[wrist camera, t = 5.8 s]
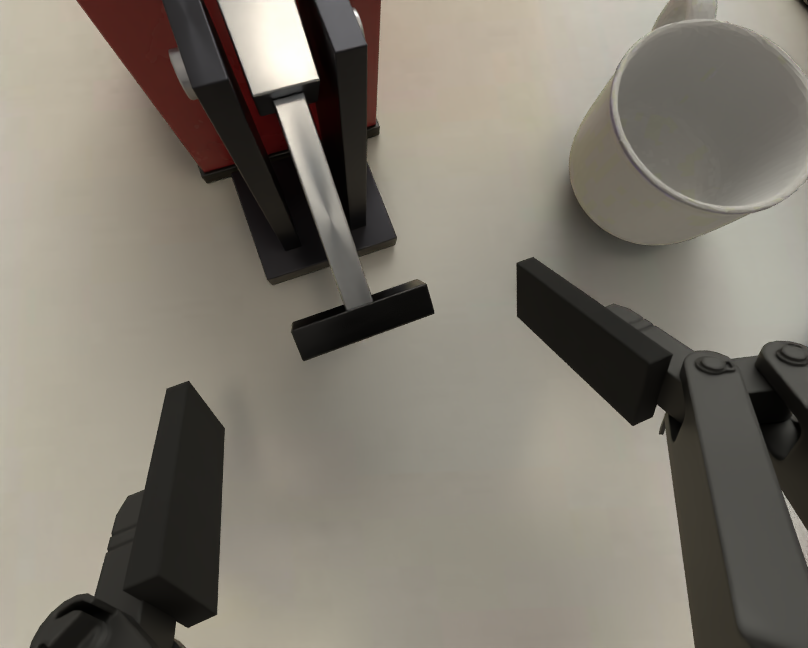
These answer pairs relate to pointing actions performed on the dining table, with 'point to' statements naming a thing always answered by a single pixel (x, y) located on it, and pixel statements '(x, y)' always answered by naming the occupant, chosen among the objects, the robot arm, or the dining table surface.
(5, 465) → the dining table surface
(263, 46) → the press lever
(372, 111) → the toaster
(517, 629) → the dining table surface
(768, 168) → the teacup
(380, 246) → the bracket
